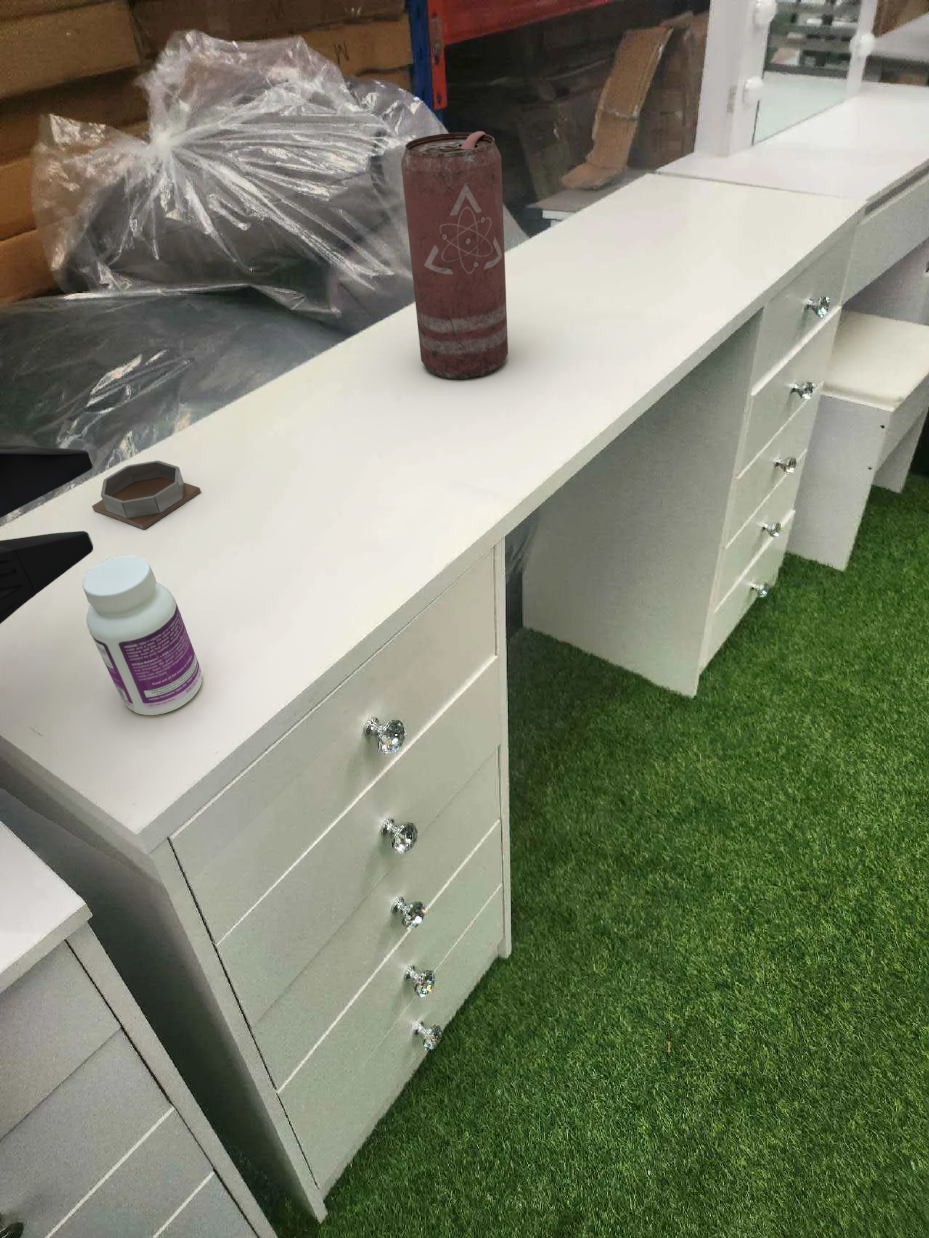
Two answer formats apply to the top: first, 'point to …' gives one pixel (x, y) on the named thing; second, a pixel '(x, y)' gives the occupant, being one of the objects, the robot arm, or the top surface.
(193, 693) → the pill bottle
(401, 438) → the top surface
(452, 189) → the can
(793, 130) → the top surface
